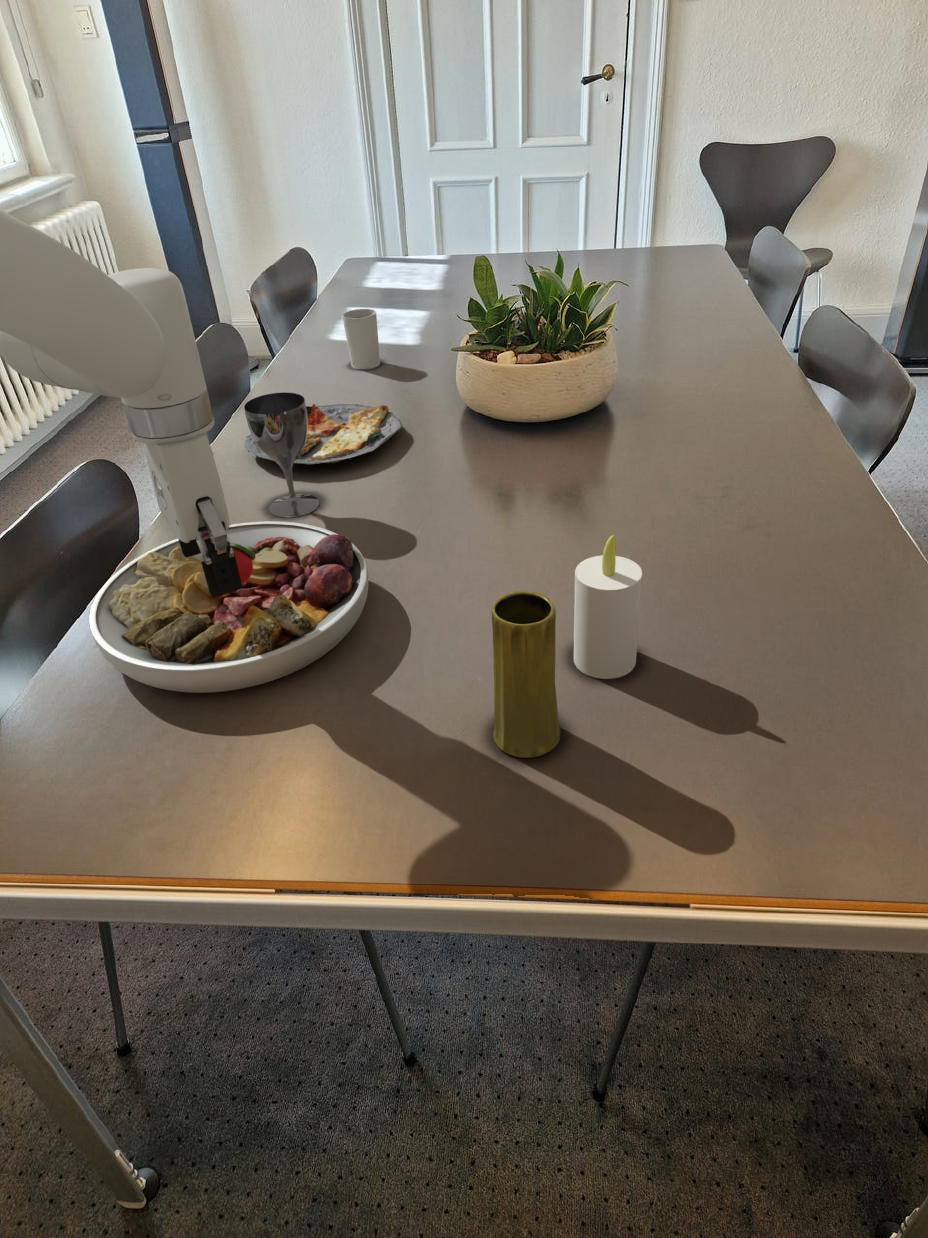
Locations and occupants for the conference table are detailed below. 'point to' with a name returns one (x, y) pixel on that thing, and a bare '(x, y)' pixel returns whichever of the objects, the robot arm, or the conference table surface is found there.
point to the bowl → (231, 610)
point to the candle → (606, 614)
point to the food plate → (340, 432)
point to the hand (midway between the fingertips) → (212, 571)
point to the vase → (524, 674)
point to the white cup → (362, 338)
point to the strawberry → (243, 561)
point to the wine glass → (282, 443)
